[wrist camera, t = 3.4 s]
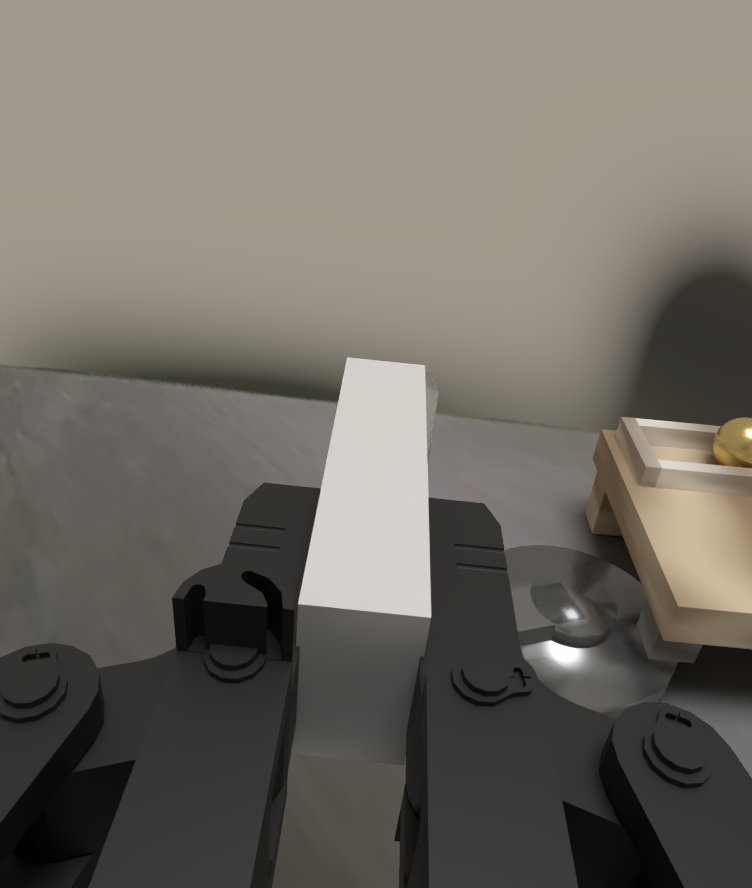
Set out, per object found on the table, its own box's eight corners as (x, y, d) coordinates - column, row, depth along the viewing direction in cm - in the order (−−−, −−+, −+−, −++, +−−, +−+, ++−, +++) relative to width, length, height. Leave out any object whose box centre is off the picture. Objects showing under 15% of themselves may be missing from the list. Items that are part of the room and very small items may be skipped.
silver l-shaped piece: (593, 557, 39) (674, 310, 31) (714, 705, 31) (862, 423, 23) (305, 604, 34) (315, 326, 27) (360, 791, 26) (399, 473, 19)
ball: (750, 456, 39) (771, 410, 37) (773, 488, 36) (797, 439, 35) (696, 451, 39) (715, 404, 37) (716, 482, 36) (736, 433, 35)
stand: (785, 532, 43) (836, 431, 39) (924, 730, 31) (1016, 614, 28) (577, 512, 43) (607, 409, 39) (636, 702, 31) (688, 582, 28)
